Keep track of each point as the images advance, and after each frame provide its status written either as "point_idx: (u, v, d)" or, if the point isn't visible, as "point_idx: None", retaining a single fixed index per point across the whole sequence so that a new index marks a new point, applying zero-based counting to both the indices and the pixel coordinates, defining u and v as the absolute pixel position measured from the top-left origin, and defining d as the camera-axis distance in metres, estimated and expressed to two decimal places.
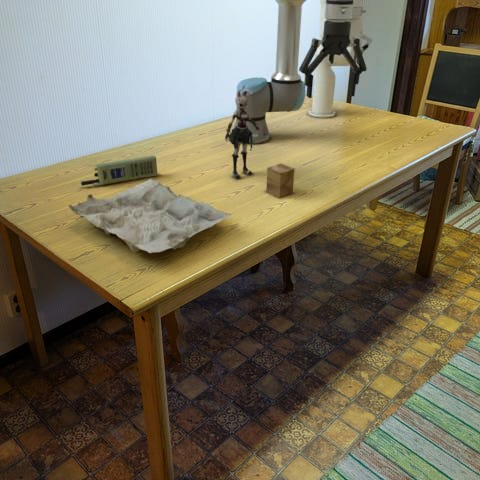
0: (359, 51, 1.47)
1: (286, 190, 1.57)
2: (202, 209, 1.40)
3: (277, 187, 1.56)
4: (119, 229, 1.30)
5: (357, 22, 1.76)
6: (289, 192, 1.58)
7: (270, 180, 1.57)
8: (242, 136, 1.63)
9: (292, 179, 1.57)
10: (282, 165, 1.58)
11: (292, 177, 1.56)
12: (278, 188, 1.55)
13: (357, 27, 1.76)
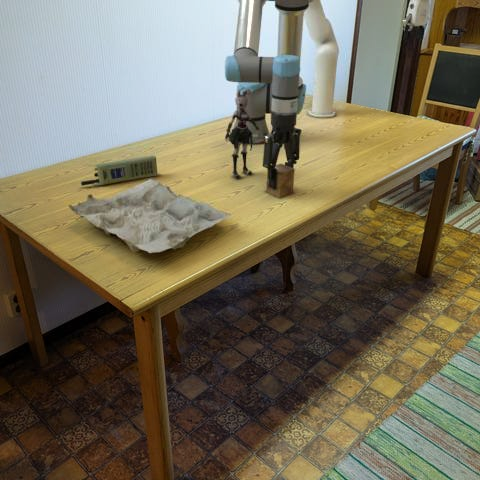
0: (298, 141, 1.55)
1: (286, 190, 1.57)
2: (202, 209, 1.40)
3: (277, 187, 1.56)
4: (119, 229, 1.30)
5: None
6: (289, 192, 1.58)
7: None
8: (242, 136, 1.63)
9: (292, 179, 1.57)
10: (282, 165, 1.58)
11: (292, 177, 1.56)
12: (278, 188, 1.55)
13: None
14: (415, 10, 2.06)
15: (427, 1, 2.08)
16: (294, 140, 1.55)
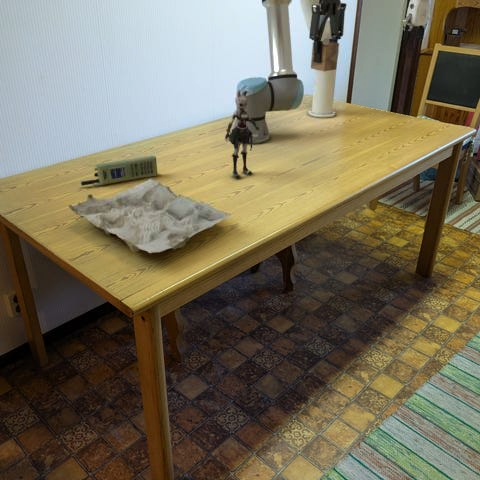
0: (343, 15, 1.62)
1: (330, 65, 1.64)
2: (202, 209, 1.40)
3: (322, 61, 1.63)
4: (119, 229, 1.30)
5: None
6: (333, 67, 1.65)
7: None
8: (242, 136, 1.63)
9: (336, 54, 1.64)
10: (327, 41, 1.65)
11: (336, 52, 1.64)
12: (323, 61, 1.62)
13: None
14: (415, 10, 2.06)
15: (427, 1, 2.08)
16: (339, 15, 1.62)
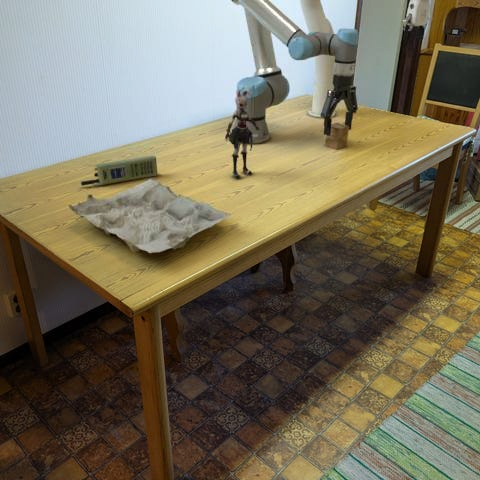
0: (355, 95, 1.94)
1: (342, 143, 1.97)
2: (202, 209, 1.40)
3: (335, 141, 1.95)
4: (119, 229, 1.30)
5: None
6: (344, 145, 1.98)
7: None
8: (242, 136, 1.63)
9: (347, 134, 1.97)
10: (338, 123, 1.98)
11: (347, 133, 1.96)
12: (336, 141, 1.95)
13: None
14: (415, 10, 2.06)
15: (427, 1, 2.08)
16: (351, 96, 1.94)
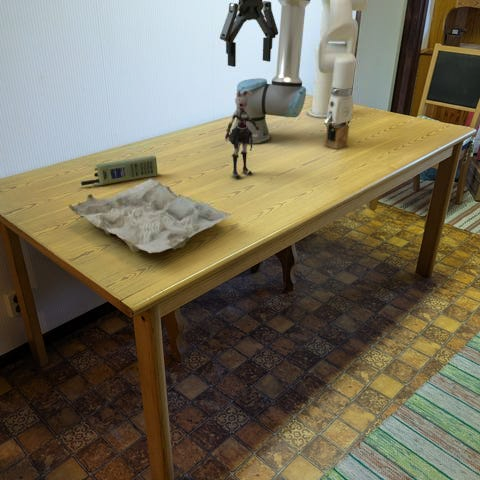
0: (271, 14, 1.47)
1: (342, 143, 1.97)
2: (202, 209, 1.40)
3: (335, 141, 1.95)
4: (119, 229, 1.30)
5: None
6: (344, 145, 1.98)
7: None
8: (242, 136, 1.63)
9: (347, 134, 1.97)
10: None
11: (347, 133, 1.96)
12: (336, 141, 1.95)
13: None
14: (335, 109, 1.88)
15: (349, 98, 1.90)
16: (267, 15, 1.47)
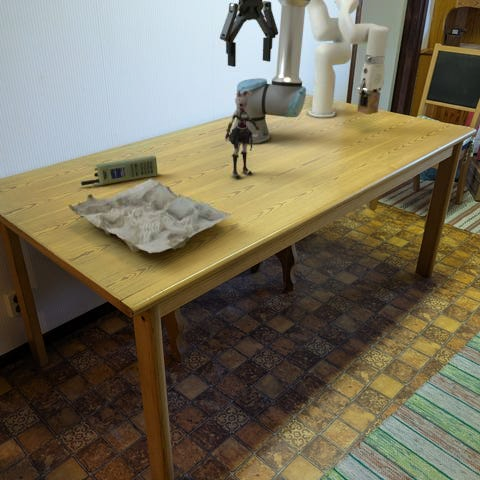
0: (271, 14, 1.47)
1: (373, 109, 2.10)
2: (202, 209, 1.40)
3: (367, 106, 2.08)
4: (119, 229, 1.30)
5: None
6: (375, 111, 2.11)
7: None
8: (242, 136, 1.63)
9: (378, 101, 2.10)
10: (370, 91, 2.11)
11: (378, 99, 2.09)
12: (368, 107, 2.08)
13: None
14: (368, 75, 2.01)
15: (381, 65, 2.03)
16: (267, 15, 1.47)
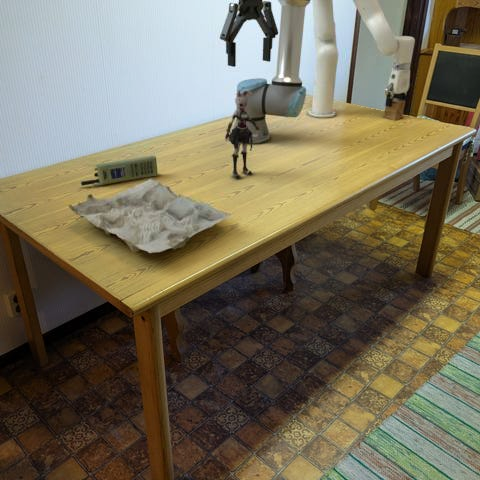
0: (271, 14, 1.47)
1: (399, 115, 2.33)
2: (202, 209, 1.40)
3: (393, 113, 2.31)
4: (119, 229, 1.30)
5: None
6: (400, 116, 2.34)
7: (388, 108, 2.33)
8: (242, 136, 1.63)
9: (403, 108, 2.33)
10: (395, 98, 2.34)
11: (403, 106, 2.32)
12: (394, 113, 2.31)
13: None
14: (396, 80, 2.23)
15: (407, 71, 2.25)
16: (267, 15, 1.47)
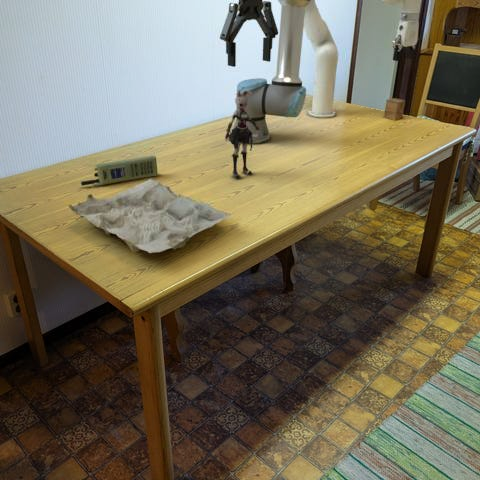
0: (271, 14, 1.47)
1: (399, 115, 2.33)
2: (202, 209, 1.40)
3: (393, 113, 2.31)
4: (119, 229, 1.30)
5: None
6: (400, 116, 2.34)
7: (388, 108, 2.33)
8: (242, 136, 1.63)
9: (403, 108, 2.33)
10: (395, 98, 2.34)
11: (403, 106, 2.32)
12: (394, 113, 2.31)
13: None
14: (404, 32, 2.13)
15: (416, 23, 2.15)
16: (267, 15, 1.47)
